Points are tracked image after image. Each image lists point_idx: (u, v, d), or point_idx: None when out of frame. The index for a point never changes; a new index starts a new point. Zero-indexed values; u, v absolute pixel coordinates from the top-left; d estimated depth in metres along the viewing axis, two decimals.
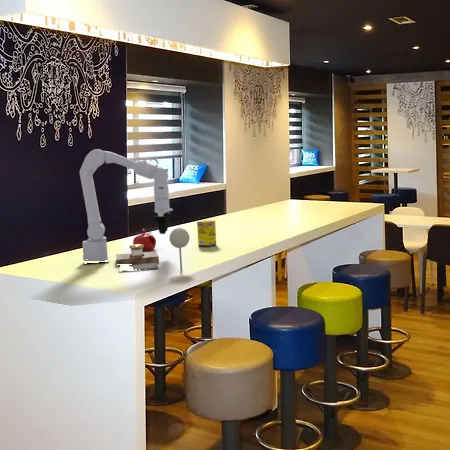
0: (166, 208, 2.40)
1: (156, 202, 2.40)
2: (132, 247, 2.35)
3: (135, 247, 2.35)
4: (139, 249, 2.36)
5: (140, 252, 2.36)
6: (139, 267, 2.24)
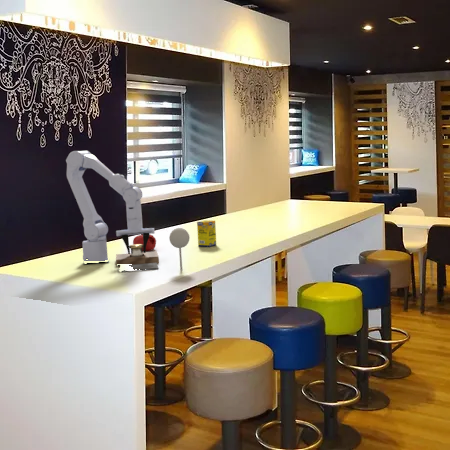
0: (129, 229, 2.34)
1: None
2: (132, 247, 2.35)
3: (135, 247, 2.35)
4: (139, 249, 2.36)
5: (140, 252, 2.36)
6: (139, 267, 2.24)
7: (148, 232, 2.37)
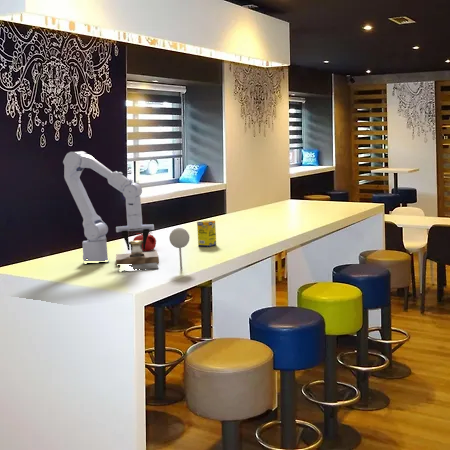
0: (129, 225, 2.35)
1: None
2: (132, 243, 2.35)
3: (135, 243, 2.35)
4: (139, 245, 2.36)
5: (140, 248, 2.37)
6: (139, 267, 2.24)
7: (148, 228, 2.38)
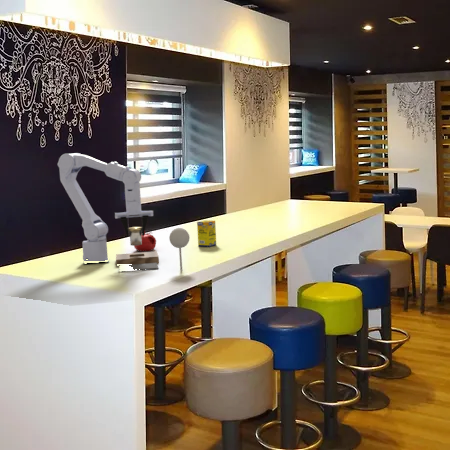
0: (128, 211, 2.33)
1: None
2: (131, 229, 2.34)
3: (134, 229, 2.34)
4: (138, 231, 2.35)
5: (139, 235, 2.35)
6: (139, 267, 2.24)
7: (147, 215, 2.36)
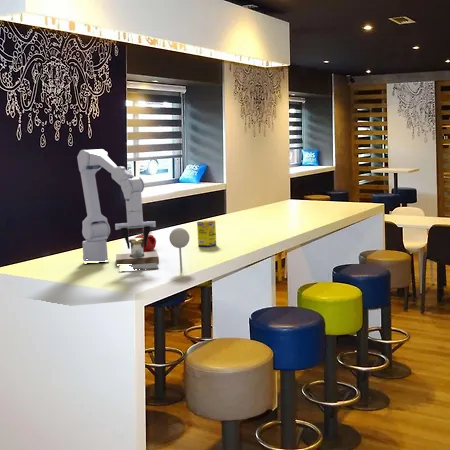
0: (129, 222, 2.21)
1: None
2: (132, 241, 2.22)
3: (135, 241, 2.22)
4: (139, 243, 2.23)
5: (140, 247, 2.23)
6: (139, 267, 2.24)
7: (149, 225, 2.24)
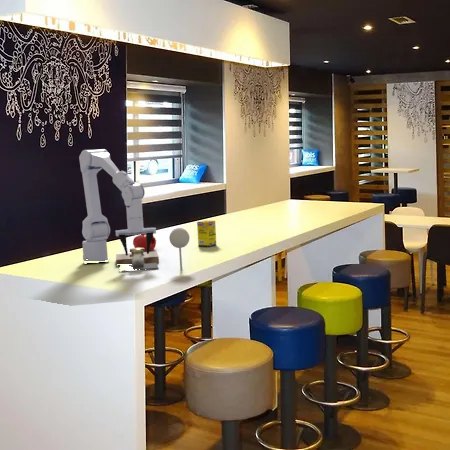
0: (129, 229, 2.21)
1: None
2: (133, 251, 2.23)
3: (136, 251, 2.22)
4: (140, 253, 2.24)
5: (141, 256, 2.24)
6: (139, 267, 2.24)
7: (149, 232, 2.24)
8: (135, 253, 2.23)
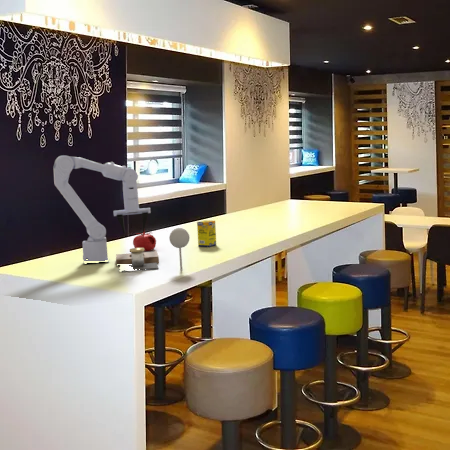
0: (126, 209, 2.42)
1: None
2: (132, 251, 2.23)
3: (136, 251, 2.22)
4: (140, 253, 2.24)
5: (141, 256, 2.24)
6: (139, 267, 2.24)
7: (144, 212, 2.45)
8: (135, 253, 2.23)
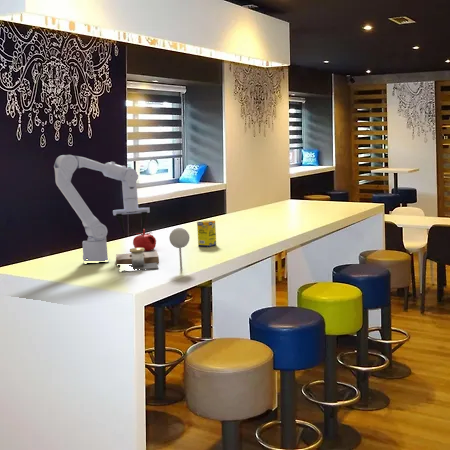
0: (125, 208, 2.44)
1: None
2: (133, 251, 2.23)
3: (136, 251, 2.22)
4: (140, 253, 2.24)
5: (141, 256, 2.24)
6: (139, 267, 2.24)
7: (144, 211, 2.47)
8: (135, 253, 2.23)
